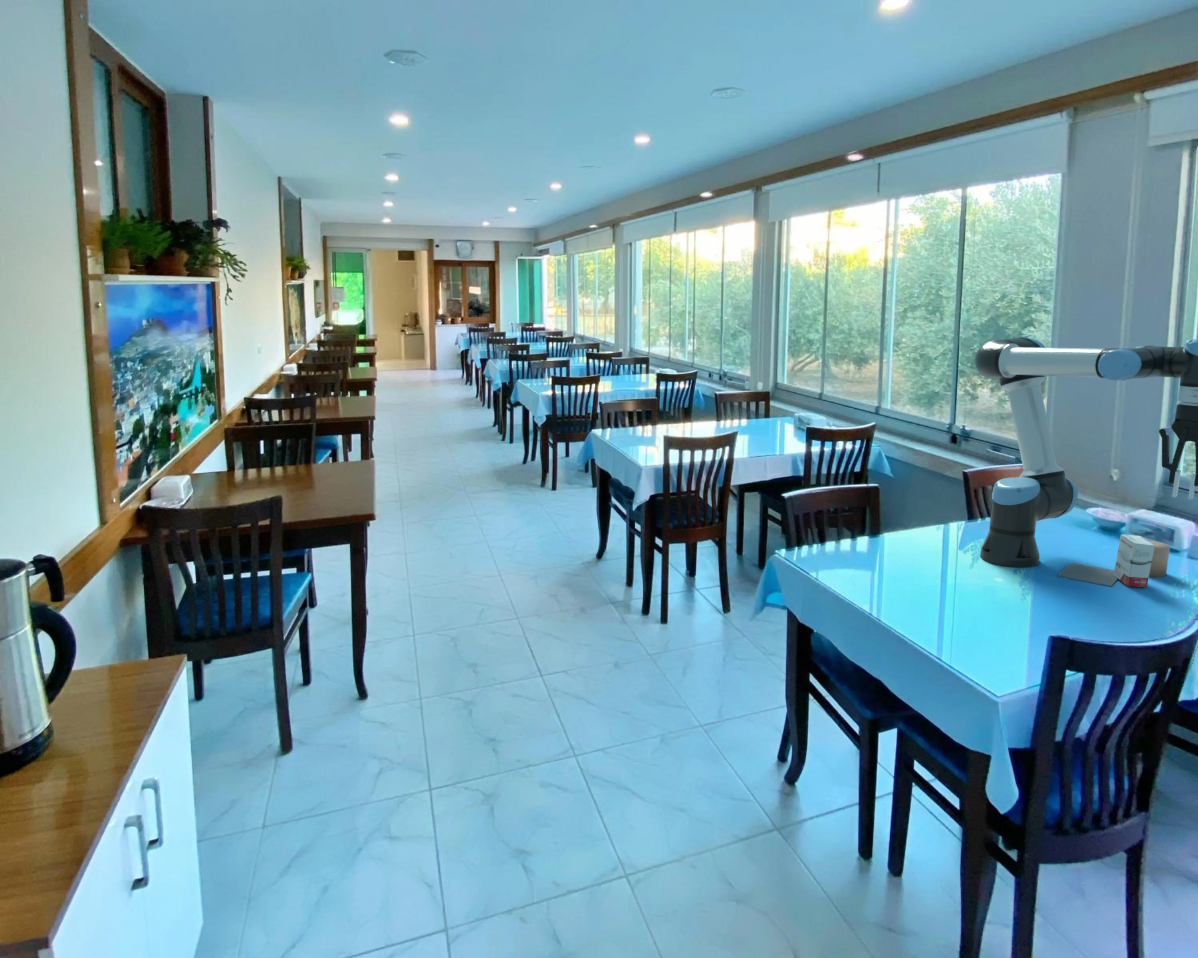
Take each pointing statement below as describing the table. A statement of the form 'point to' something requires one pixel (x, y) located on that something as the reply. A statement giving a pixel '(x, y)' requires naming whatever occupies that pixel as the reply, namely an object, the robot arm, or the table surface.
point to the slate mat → (1089, 574)
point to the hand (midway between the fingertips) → (1182, 497)
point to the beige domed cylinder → (1159, 559)
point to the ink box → (1134, 560)
